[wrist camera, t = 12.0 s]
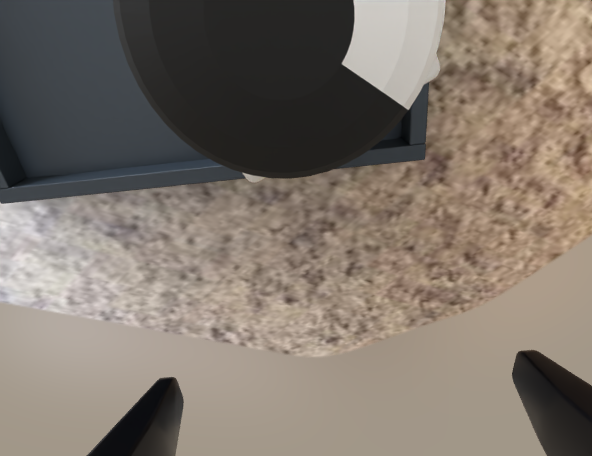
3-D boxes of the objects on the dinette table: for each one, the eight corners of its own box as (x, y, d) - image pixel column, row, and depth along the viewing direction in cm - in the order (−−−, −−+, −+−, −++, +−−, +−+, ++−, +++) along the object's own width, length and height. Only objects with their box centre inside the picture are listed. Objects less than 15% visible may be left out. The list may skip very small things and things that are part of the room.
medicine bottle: (264, 139, 19) (229, 269, 8) (174, -1, 16) (-51, -73, 5) (390, 60, 17) (548, 98, 7) (316, -110, 14) (385, -516, 4)
